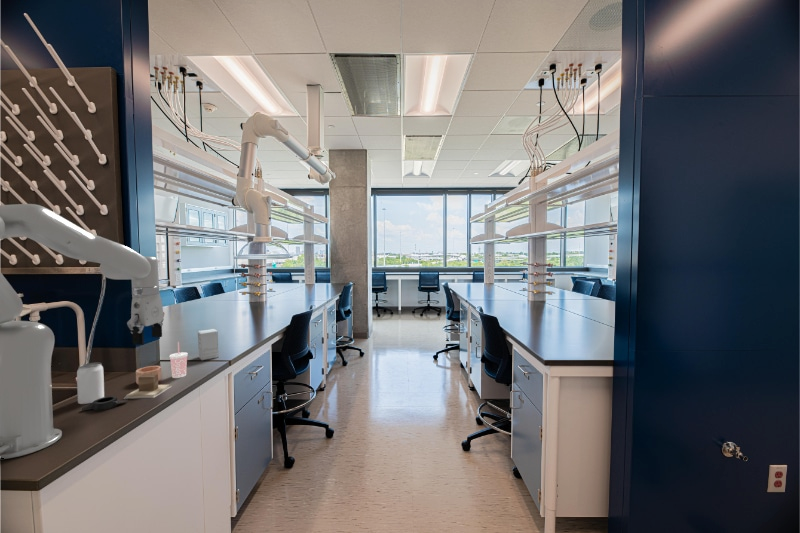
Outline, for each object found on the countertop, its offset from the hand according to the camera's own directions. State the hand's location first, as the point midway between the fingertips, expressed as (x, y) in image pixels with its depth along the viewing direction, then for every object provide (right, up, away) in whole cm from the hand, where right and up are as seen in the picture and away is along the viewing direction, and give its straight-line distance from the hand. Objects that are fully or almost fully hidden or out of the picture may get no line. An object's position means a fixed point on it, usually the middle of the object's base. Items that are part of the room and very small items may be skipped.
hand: (148, 340), depth 118 cm
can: (-15, -19, -6) cm, 25 cm away
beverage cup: (0, -18, +16) cm, 24 cm away
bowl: (-8, -18, +11) cm, 22 cm away
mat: (0, -18, 0) cm, 18 cm away
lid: (0, -18, 0) cm, 18 cm away
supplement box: (-3, -17, +42) cm, 46 cm away
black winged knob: (-5, -19, -11) cm, 23 cm away
